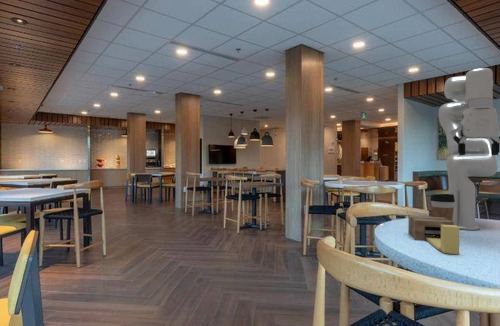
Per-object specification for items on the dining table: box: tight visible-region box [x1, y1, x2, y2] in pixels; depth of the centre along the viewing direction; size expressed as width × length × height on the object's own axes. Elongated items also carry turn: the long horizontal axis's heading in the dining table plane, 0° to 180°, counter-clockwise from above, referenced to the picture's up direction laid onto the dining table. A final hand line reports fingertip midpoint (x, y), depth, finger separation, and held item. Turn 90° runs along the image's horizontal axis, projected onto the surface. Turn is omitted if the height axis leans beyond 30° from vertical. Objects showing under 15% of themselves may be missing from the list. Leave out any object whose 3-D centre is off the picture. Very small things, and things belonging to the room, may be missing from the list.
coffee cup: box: [430, 193, 455, 221], centre depth 122 cm, size 8×8×15 cm
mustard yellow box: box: [425, 225, 460, 255], centre depth 99 cm, size 17×5×8 cm, turn 165°
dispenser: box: [408, 215, 454, 241], centre depth 112 cm, size 11×12×7 cm
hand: (478, 155), depth 105 cm, fingers open, 9 cm apart
